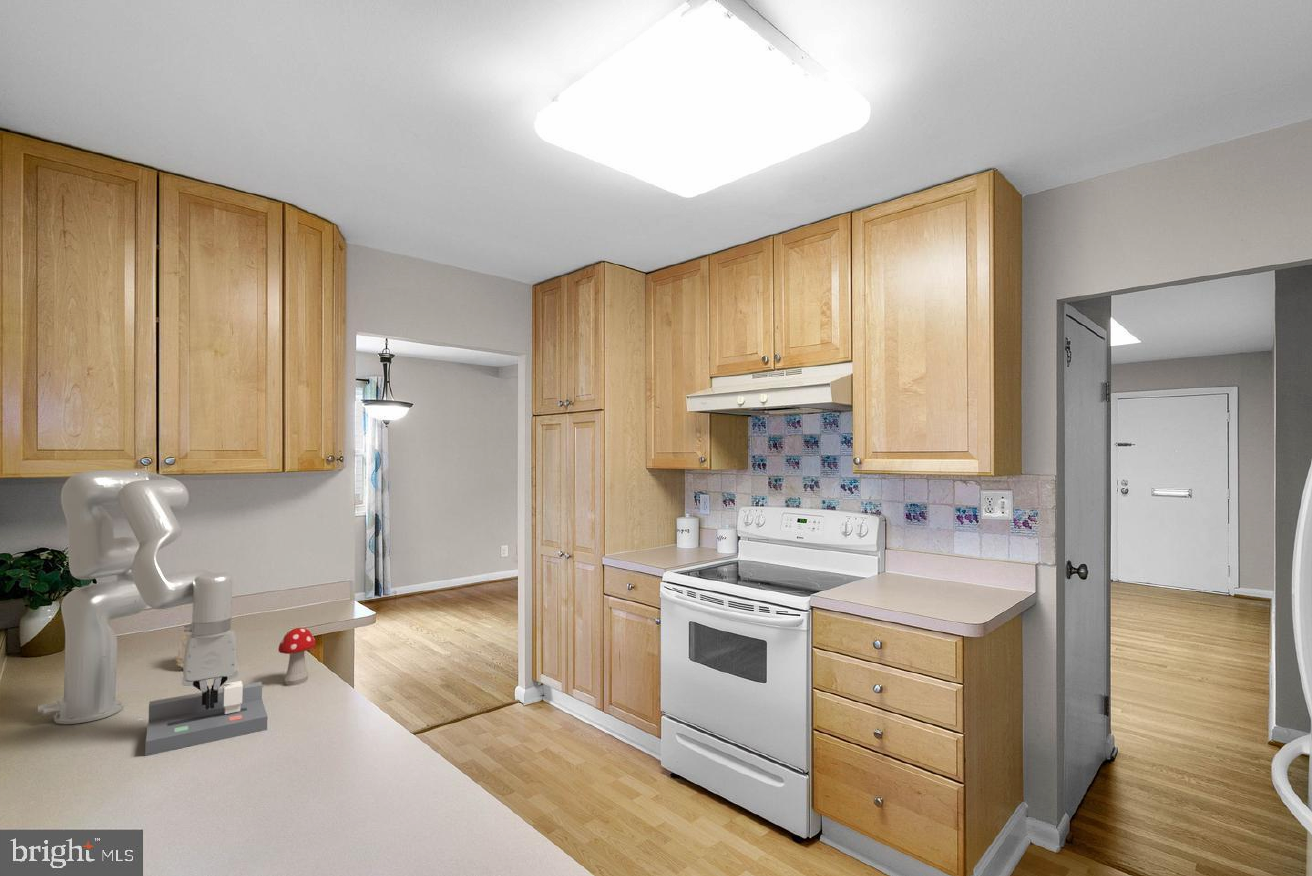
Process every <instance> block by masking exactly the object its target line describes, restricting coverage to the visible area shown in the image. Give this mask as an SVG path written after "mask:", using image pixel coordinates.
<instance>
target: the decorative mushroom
mask: <svg viewBox="0 0 1312 876" xmlns="http://www.w3.org/2000/svg"><path fill="white" fill-rule="evenodd" d="M314 637H315V636H313V634H312V633H311V631H310V630H309V629H307V628H304V627H296V628H293V629H291V630H289V631H288V632H287V633H286V634H285V635H284V636H283V639H282V640H281V642H280V643H279V646H278V650H277V651H278V653H280V654H285V655H287V654H288V655H289V657H288V658H289V660H288V665H287V670H286V674H285V675H284V679H283V681H284V685H286V686H296V685H301V684H302V683H305V682H306V681H307V680H308V677H309V675H310V674H309V672H308V669H307V665H306V658H305V652H307V651H309V650H312V649H314V647H315V646H316V644H317V643H316V639H315V638H314Z"/></svg>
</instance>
